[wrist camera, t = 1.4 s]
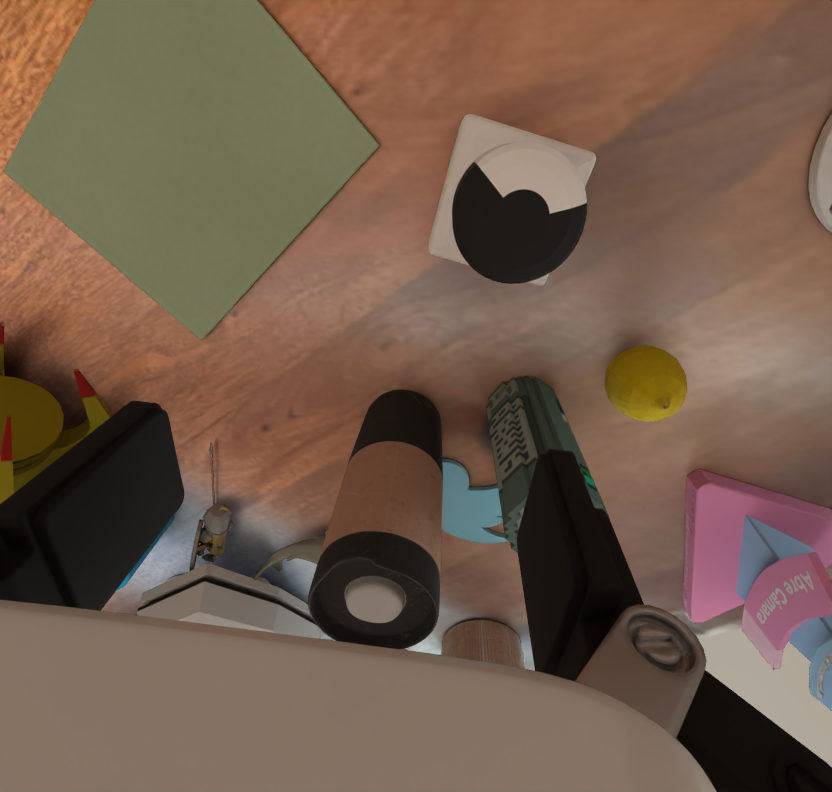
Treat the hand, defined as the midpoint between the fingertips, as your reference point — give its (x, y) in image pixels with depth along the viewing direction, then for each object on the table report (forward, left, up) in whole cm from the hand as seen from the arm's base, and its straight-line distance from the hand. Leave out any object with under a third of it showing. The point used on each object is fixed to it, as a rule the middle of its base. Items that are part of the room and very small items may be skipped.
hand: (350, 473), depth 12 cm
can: (+2, +16, -28) cm, 32 cm away
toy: (+40, +9, -25) cm, 47 cm away
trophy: (-4, +43, -28) cm, 51 cm away
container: (-7, +1, -28) cm, 28 cm away
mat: (+8, -16, -27) cm, 33 cm away
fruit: (-7, +19, -28) cm, 34 cm away
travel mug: (+12, +11, -28) cm, 32 cm away
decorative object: (+17, +25, -27) cm, 41 cm away
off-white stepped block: (+45, +15, -21) cm, 52 cm away
